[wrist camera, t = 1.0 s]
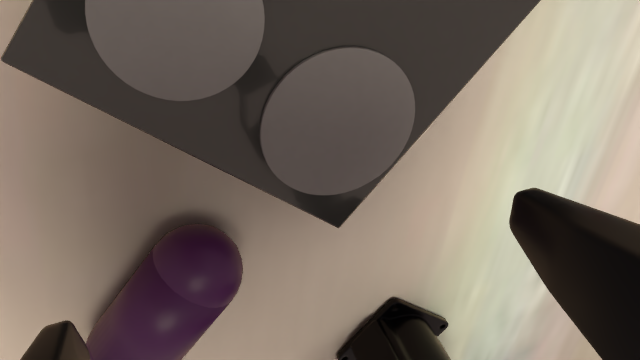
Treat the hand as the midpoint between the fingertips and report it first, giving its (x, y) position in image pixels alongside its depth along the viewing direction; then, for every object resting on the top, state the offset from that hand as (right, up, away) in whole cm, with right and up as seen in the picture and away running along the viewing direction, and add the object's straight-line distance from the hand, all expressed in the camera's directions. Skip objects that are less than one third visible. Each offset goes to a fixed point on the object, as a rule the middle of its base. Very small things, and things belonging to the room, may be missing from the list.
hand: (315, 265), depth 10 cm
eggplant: (-9, -4, +17) cm, 19 cm away
